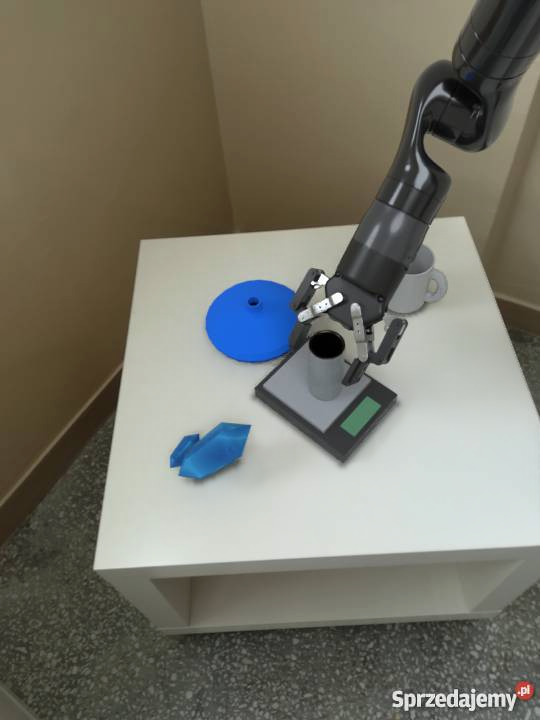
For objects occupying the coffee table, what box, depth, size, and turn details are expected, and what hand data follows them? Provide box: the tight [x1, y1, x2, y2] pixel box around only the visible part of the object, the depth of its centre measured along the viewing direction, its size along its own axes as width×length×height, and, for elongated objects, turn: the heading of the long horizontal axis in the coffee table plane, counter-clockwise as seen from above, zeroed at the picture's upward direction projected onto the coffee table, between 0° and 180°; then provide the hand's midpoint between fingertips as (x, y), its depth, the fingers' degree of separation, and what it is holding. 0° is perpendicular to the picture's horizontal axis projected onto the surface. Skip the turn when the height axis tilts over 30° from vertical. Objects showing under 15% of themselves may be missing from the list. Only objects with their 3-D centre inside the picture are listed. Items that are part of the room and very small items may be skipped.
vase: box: [205, 279, 297, 364], centre depth 81 cm, size 16×16×7 cm
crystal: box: [169, 421, 252, 480], centre depth 69 cm, size 7×9×12 cm
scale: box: [254, 334, 398, 464], centre depth 75 cm, size 16×12×3 cm
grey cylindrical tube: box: [308, 329, 346, 401], centre depth 69 cm, size 4×4×10 cm
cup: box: [388, 242, 449, 314], centre depth 81 cm, size 7×10×9 cm
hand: (319, 366), depth 67 cm, fingers open, 8 cm apart
